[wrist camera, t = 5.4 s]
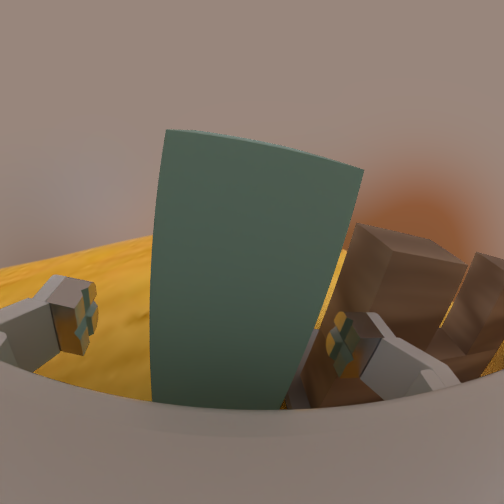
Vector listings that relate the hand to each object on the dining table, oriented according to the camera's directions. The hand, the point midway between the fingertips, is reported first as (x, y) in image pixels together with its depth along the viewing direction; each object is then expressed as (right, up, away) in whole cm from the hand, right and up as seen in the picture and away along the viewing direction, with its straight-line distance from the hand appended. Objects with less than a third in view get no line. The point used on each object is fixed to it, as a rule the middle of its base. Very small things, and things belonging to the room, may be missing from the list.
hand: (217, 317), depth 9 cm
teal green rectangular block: (-1, -6, +2) cm, 7 cm away
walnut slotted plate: (+11, -7, +6) cm, 14 cm away
